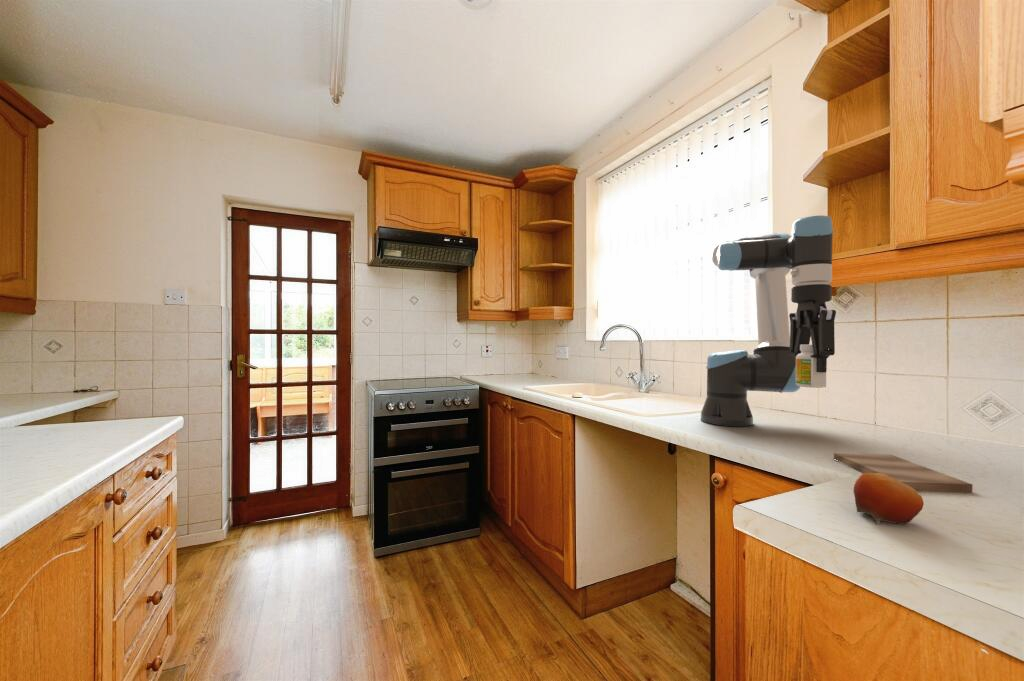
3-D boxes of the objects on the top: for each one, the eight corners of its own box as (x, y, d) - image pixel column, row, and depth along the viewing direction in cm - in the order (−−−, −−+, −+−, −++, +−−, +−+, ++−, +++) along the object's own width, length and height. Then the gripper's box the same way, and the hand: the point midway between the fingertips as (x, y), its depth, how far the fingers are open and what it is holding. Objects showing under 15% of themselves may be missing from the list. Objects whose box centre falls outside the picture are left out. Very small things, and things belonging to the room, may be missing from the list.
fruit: (828, 500, 67) (852, 458, 67) (866, 523, 67) (890, 481, 67) (875, 522, 59) (903, 475, 59) (918, 548, 59) (945, 501, 59)
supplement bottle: (797, 387, 92) (797, 344, 92) (794, 384, 97) (794, 344, 97) (826, 388, 90) (827, 345, 90) (822, 385, 94) (822, 344, 94)
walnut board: (833, 459, 92) (833, 453, 92) (890, 461, 91) (890, 454, 91) (899, 489, 75) (899, 481, 75) (972, 492, 73) (972, 484, 73)
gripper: (773, 289, 103) (772, 380, 103) (818, 279, 84) (817, 390, 85) (805, 289, 102) (804, 381, 102) (857, 279, 83) (856, 390, 84)
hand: (810, 385), depth 93 cm, fingers closed on supplement bottle, 5 cm apart
